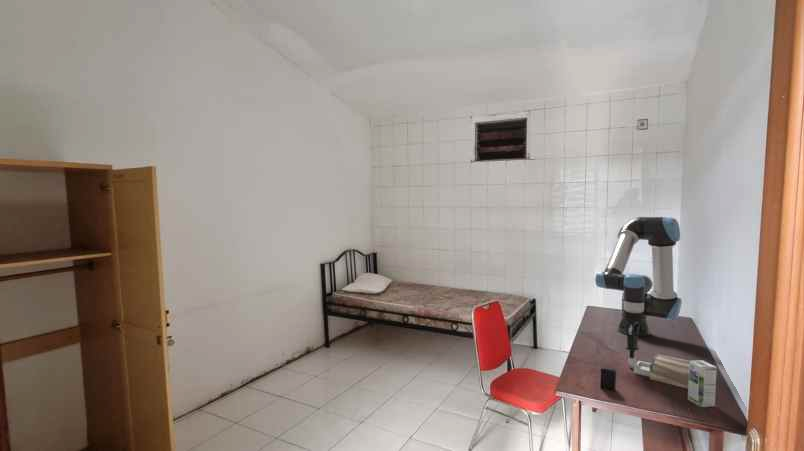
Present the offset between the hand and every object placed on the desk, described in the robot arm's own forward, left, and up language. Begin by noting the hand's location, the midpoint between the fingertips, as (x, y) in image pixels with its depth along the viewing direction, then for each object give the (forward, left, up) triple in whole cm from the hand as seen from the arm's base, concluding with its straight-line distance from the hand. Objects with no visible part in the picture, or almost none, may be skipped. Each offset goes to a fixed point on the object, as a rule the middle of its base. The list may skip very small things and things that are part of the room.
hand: (632, 364), depth 167 cm
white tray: (0, +9, -2) cm, 9 cm away
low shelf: (0, +15, -1) cm, 15 cm away
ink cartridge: (+27, -3, -2) cm, 27 cm away
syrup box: (+18, +25, -2) cm, 31 cm away
